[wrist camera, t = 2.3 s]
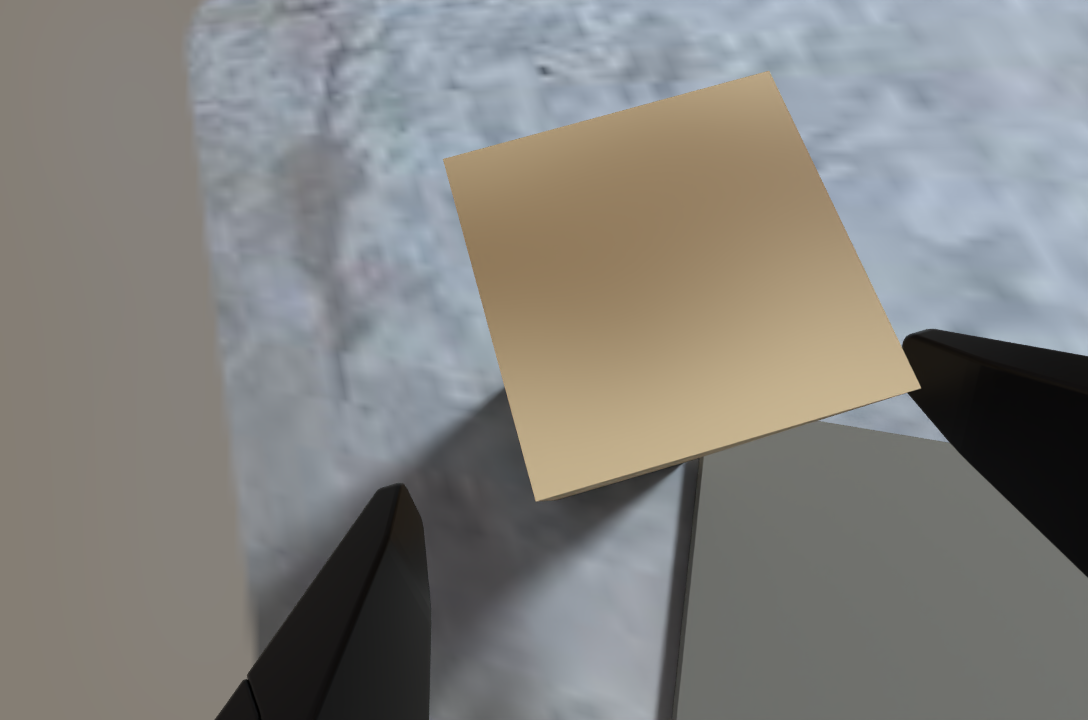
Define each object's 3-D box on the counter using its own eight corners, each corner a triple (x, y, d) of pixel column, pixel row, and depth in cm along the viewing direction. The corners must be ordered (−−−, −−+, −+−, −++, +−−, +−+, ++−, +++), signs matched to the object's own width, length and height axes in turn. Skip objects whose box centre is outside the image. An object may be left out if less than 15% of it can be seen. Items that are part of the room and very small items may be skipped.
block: (683, 462, 18) (921, 388, 6) (555, 500, 18) (535, 501, 6) (641, 340, 19) (769, 70, 7) (520, 374, 19) (442, 158, 7)
